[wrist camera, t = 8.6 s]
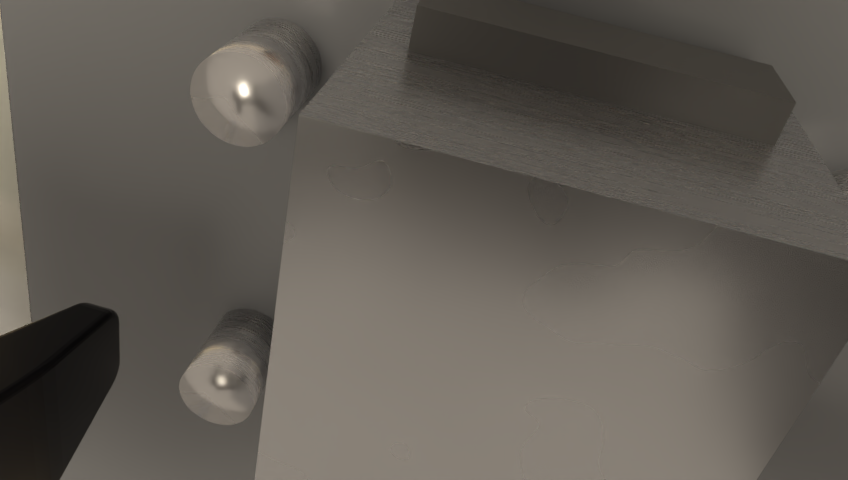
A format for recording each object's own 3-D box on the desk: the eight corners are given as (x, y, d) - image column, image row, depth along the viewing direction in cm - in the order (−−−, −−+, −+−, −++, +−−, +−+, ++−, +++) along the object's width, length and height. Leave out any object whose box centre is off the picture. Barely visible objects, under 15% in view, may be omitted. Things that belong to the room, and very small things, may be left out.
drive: (801, 60, 9) (926, 220, 6) (584, 506, 14) (584, 740, 10) (404, -41, 9) (306, 57, 6) (319, 430, 14) (235, 636, 11)
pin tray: (1682, -435, 7) (2178, -534, 5) (738, 696, 17) (759, 822, 15) (-12, -799, 8) (-244, -1023, 5) (77, 502, 18) (11, 597, 16)
